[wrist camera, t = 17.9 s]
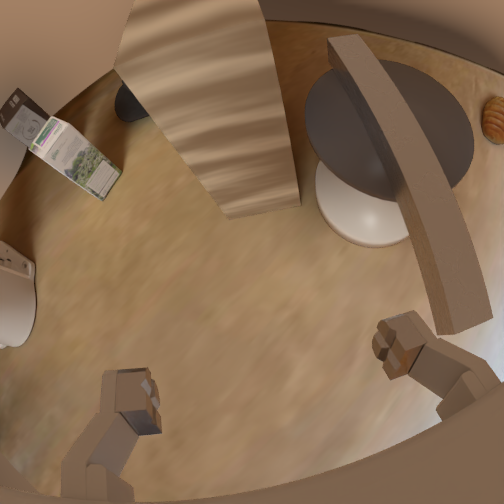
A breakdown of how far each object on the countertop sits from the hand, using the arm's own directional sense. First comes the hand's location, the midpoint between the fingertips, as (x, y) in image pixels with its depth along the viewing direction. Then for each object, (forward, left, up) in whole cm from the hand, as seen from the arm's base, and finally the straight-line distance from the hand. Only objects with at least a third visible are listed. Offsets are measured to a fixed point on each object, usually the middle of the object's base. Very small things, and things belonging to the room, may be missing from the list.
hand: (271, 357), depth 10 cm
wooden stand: (-17, +17, -25) cm, 35 cm away
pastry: (+13, +43, -25) cm, 52 cm away
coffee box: (-54, +5, -25) cm, 60 cm away
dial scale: (-1, +20, -25) cm, 32 cm away
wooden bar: (+1, +15, -10) cm, 18 cm away
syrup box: (-38, +4, -25) cm, 46 cm away
